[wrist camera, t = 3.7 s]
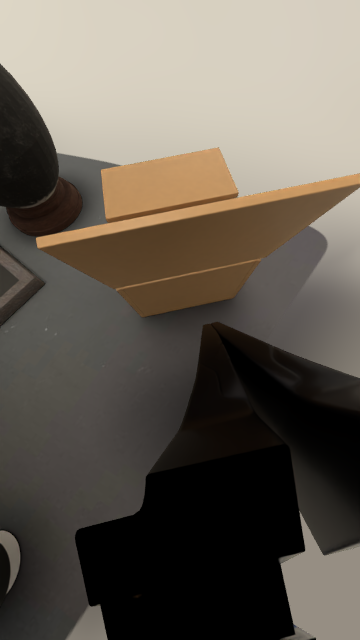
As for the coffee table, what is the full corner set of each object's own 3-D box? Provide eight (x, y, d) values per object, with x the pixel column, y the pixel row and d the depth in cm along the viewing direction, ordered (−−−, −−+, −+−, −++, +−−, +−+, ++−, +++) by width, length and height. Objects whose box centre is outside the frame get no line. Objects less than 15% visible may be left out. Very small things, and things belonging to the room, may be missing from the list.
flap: (264, 252, 12) (265, 257, 12) (112, 284, 12) (113, 289, 12) (364, 171, 6) (366, 182, 6) (34, 237, 5) (36, 248, 5)
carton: (233, 298, 20) (266, 253, 12) (142, 317, 19) (111, 285, 12) (207, 220, 23) (219, 146, 15) (129, 236, 23) (100, 169, 15)
